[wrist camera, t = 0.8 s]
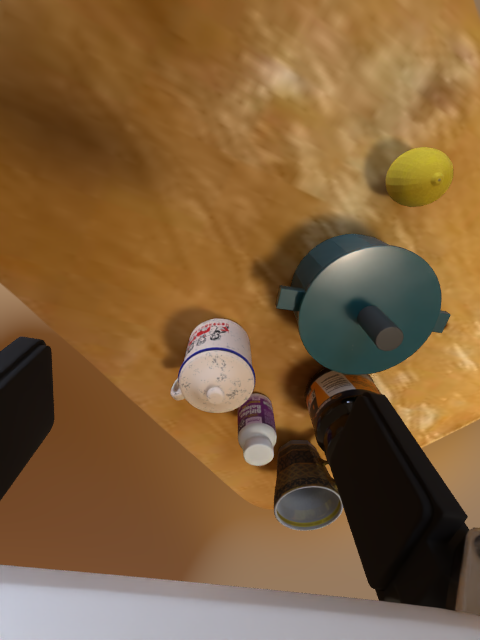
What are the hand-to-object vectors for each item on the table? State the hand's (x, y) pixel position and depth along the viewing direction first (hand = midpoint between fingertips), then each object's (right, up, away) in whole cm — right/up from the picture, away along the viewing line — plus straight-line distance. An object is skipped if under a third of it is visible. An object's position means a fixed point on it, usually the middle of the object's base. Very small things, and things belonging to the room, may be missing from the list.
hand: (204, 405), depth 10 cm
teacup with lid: (-3, -2, +36) cm, 36 cm away
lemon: (+19, +19, +27) cm, 38 cm away
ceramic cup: (+12, -19, +45) cm, 51 cm away
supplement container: (+16, -8, +40) cm, 44 cm away
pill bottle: (+3, -11, +41) cm, 42 cm away
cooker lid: (+15, +3, +25) cm, 30 cm away
